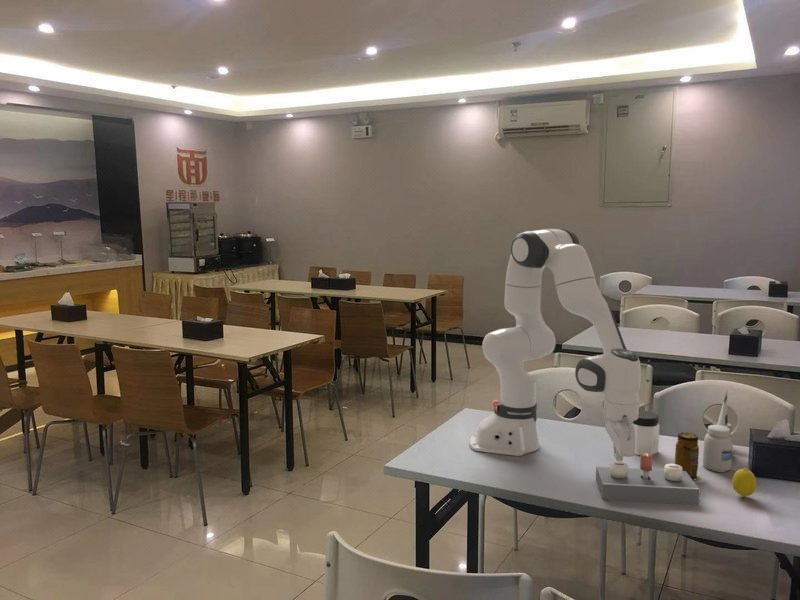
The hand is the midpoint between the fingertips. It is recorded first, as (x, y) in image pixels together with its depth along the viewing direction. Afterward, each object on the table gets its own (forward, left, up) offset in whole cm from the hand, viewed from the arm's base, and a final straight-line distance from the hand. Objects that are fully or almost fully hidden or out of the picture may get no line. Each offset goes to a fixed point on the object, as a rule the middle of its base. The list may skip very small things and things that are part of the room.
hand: (618, 459), depth 173 cm
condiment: (+21, +12, -9) cm, 26 cm away
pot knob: (+7, 0, -6) cm, 10 cm away
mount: (+7, 0, -9) cm, 11 cm away
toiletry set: (+35, +27, -9) cm, 45 cm away
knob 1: (0, 0, -8) cm, 8 cm away
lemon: (+32, 0, -9) cm, 33 cm away
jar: (+13, +30, -9) cm, 34 cm away
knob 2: (+14, 0, -8) cm, 17 cm away
